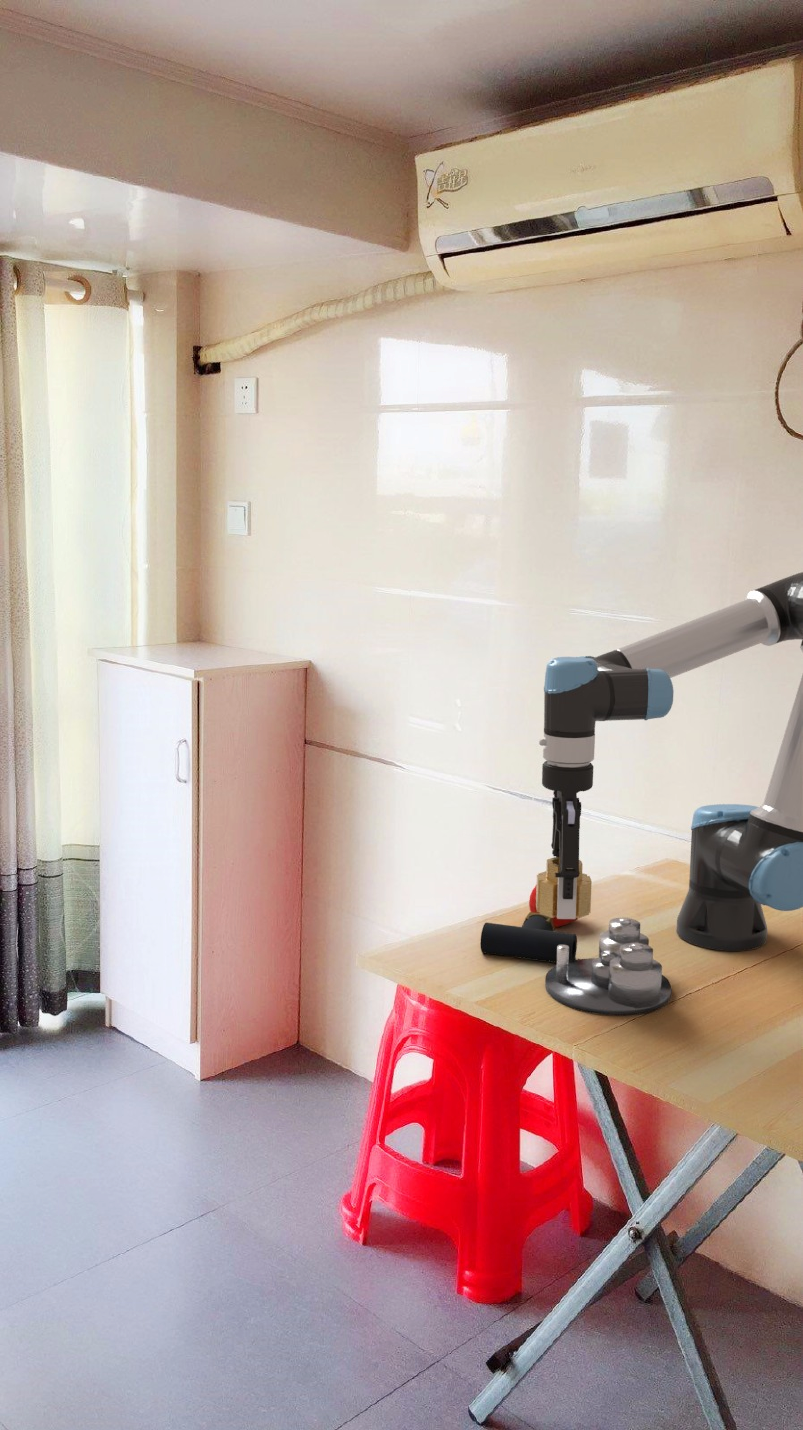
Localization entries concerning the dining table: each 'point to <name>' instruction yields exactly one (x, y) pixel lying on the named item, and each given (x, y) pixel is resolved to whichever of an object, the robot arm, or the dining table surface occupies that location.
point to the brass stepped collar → (549, 890)
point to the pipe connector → (527, 939)
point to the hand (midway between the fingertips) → (563, 908)
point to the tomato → (533, 909)
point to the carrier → (611, 975)
